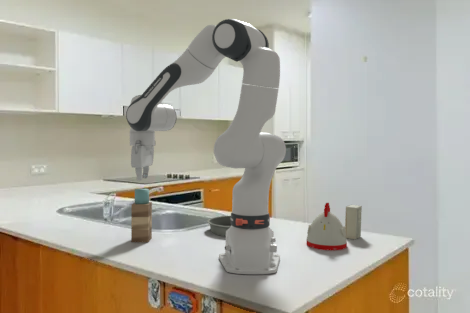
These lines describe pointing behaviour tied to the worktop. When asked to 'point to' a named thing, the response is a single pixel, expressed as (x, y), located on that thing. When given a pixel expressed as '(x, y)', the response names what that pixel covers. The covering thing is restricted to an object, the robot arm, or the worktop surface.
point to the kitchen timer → (326, 232)
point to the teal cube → (141, 196)
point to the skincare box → (353, 221)
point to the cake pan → (220, 225)
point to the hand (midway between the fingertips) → (142, 179)
